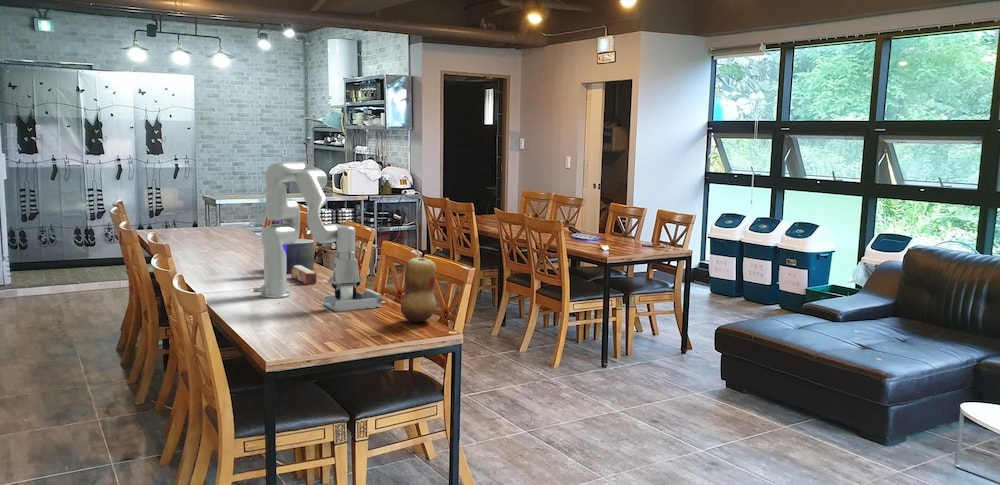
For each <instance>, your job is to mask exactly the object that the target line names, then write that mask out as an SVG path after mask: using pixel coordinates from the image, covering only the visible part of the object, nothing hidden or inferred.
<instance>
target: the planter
mask: <svg viewBox="0 0 1000 485" xmlns="http://www.w3.org/2000/svg"><path fill="white" fill-rule="evenodd" d="M286 246H287V272H286V274H291V268H292V267H293V266H295V265H301V266H303V267H305V268H307V269H309V270H313V269H314V270H315V268H314V265H315V264H314V262H315V261H314V260H315V257H314V256H315V255H314V254H315V253H314V252H315V251H314V248H315V242H314V240H312V239H309V238H307V239H306V238H298V240H297V241H296V242H295V243H292V244H287V245H286ZM314 270H313V271H314Z"/></svg>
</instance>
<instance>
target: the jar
mask: <svg viewBox="0 0 1000 485" xmlns="http://www.w3.org/2000/svg"><path fill="white" fill-rule="evenodd" d="M339 290H340V300H338V301H349V300H353V283H346V284H340V288H339Z"/></svg>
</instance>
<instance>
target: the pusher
mask: <svg viewBox="0 0 1000 485" xmlns="http://www.w3.org/2000/svg"><path fill="white" fill-rule="evenodd" d="M362 293H363V292H360V291H357V290H356V296H355V298H353V300H360V299H364V294H362ZM386 303H387V302H386V301H384V300H383V301H381V304H386Z"/></svg>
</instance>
